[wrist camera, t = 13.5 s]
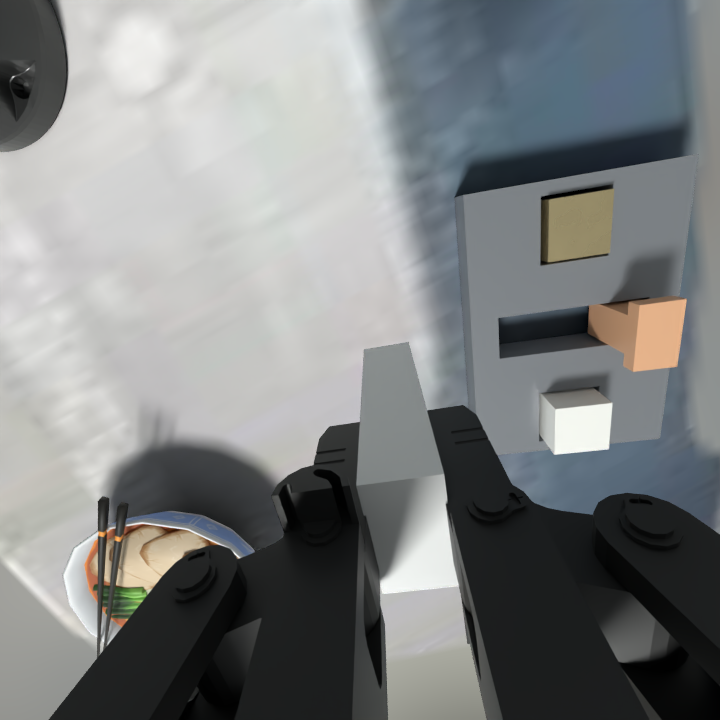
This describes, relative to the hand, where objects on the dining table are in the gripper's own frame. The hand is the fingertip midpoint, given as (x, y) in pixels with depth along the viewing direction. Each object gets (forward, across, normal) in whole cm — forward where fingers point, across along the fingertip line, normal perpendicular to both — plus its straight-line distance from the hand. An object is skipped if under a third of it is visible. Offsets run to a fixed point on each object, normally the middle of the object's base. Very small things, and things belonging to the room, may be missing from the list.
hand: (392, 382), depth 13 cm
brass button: (+22, +15, +1) cm, 26 cm away
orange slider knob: (+20, +19, -7) cm, 29 cm away
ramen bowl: (+22, -27, -29) cm, 46 cm away
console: (+22, +15, -7) cm, 27 cm away
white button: (+19, +14, -15) cm, 28 cm away
